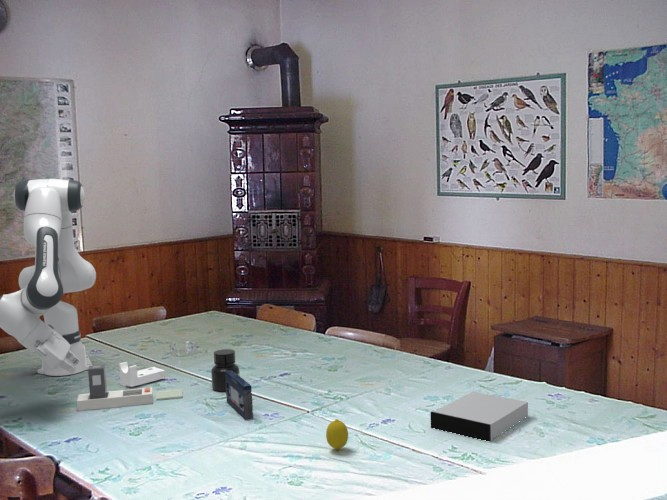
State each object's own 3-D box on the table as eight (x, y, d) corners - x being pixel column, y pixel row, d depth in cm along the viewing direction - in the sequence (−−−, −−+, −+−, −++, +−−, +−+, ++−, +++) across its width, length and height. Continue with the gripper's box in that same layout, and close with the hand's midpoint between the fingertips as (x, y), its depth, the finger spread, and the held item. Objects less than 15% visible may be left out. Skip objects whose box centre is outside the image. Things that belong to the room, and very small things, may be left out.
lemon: (325, 446, 195) (324, 416, 194) (347, 445, 195) (346, 415, 194) (327, 455, 189) (326, 424, 188) (349, 453, 190) (348, 422, 189)
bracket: (131, 389, 249) (129, 367, 248) (120, 385, 254) (118, 363, 253) (165, 380, 258) (164, 358, 257) (154, 376, 263) (153, 355, 262)
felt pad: (156, 392, 244) (156, 391, 244) (181, 390, 245) (181, 388, 245) (156, 400, 236) (156, 398, 236) (182, 398, 238) (182, 396, 237)
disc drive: (430, 429, 205) (430, 411, 205) (472, 406, 222) (472, 390, 222) (489, 444, 194) (489, 425, 193) (528, 418, 211) (528, 401, 210)
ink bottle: (246, 387, 246) (244, 351, 245) (225, 394, 240) (223, 357, 238) (227, 382, 253) (225, 346, 251) (205, 388, 246) (203, 352, 245)
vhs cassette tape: (226, 402, 232) (224, 370, 231) (235, 401, 233) (234, 369, 232) (243, 421, 216) (241, 387, 214) (253, 419, 217) (252, 385, 215)
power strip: (77, 410, 229) (76, 399, 228) (79, 403, 235) (79, 392, 235) (152, 403, 233) (152, 392, 233) (153, 396, 240) (152, 385, 240)
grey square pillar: (91, 397, 235) (89, 365, 233) (106, 395, 236) (104, 364, 234) (90, 401, 230) (88, 369, 229) (105, 400, 231) (103, 368, 230)
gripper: (40, 337, 217) (79, 368, 220) (51, 323, 237) (86, 351, 240) (25, 354, 217) (64, 384, 220) (37, 338, 236) (72, 366, 240)
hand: (76, 367), depth 230 cm, fingers open, 8 cm apart
